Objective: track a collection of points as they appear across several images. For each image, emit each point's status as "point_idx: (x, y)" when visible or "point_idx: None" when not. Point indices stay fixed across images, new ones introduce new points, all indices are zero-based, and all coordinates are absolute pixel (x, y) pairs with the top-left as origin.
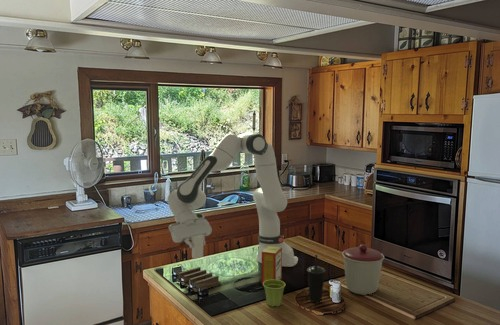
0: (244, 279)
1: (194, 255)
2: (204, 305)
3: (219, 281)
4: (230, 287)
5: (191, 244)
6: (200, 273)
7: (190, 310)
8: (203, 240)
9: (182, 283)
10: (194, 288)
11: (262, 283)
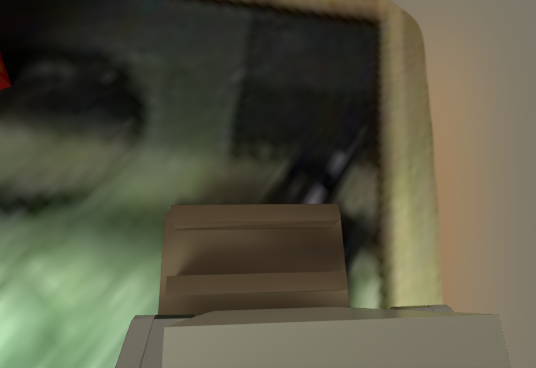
0: (16, 187)
1: (338, 307)
2: (360, 95)
3: (168, 219)
4: (154, 157)
5: None
6: None
7: (426, 98)
8: (150, 363)
9: None
10: (333, 233)
11: (6, 80)
